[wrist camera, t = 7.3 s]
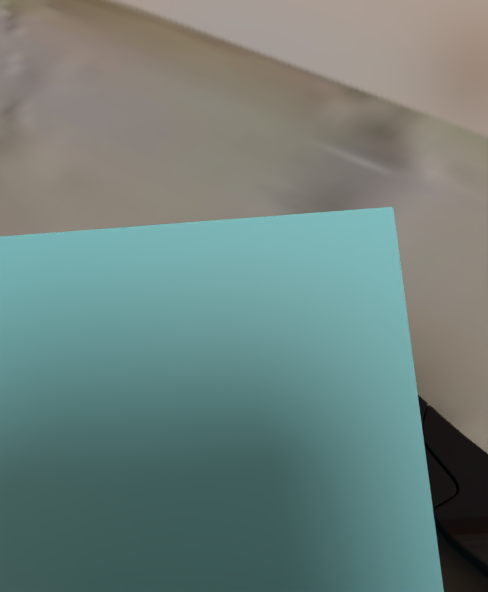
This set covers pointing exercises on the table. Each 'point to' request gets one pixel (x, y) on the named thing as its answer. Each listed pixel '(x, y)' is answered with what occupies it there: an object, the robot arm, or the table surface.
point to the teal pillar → (212, 410)
